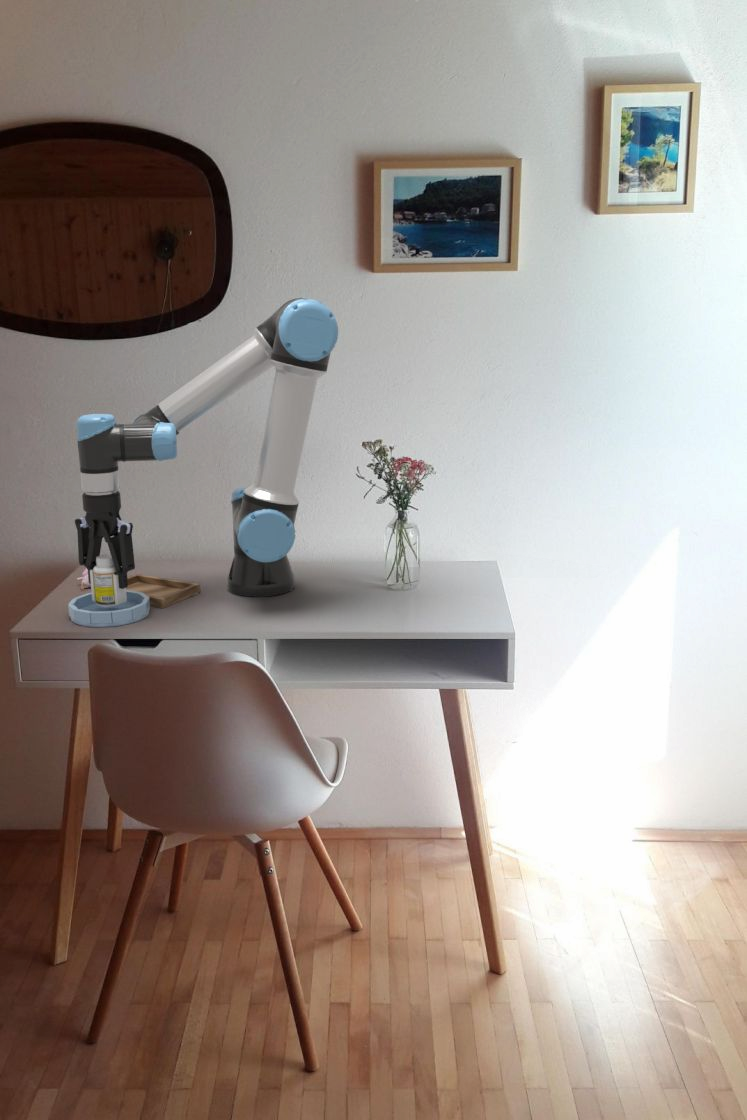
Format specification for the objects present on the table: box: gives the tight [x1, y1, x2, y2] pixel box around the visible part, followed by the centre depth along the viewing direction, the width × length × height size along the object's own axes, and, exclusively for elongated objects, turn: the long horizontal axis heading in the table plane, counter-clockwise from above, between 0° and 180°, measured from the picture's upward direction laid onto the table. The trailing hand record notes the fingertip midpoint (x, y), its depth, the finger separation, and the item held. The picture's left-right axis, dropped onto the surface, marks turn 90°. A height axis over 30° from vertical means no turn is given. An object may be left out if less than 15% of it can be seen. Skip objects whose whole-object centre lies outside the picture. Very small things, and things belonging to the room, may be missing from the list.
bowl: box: [67, 590, 151, 628], centre depth 222 cm, size 16×16×3 cm
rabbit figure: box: [76, 567, 91, 591], centre depth 246 cm, size 6×6×15 cm
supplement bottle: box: [93, 554, 121, 607], centre depth 221 cm, size 6×6×10 cm
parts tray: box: [126, 573, 201, 609], centre depth 236 cm, size 18×13×2 cm
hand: (109, 600), depth 222 cm, fingers closed on supplement bottle, 6 cm apart
